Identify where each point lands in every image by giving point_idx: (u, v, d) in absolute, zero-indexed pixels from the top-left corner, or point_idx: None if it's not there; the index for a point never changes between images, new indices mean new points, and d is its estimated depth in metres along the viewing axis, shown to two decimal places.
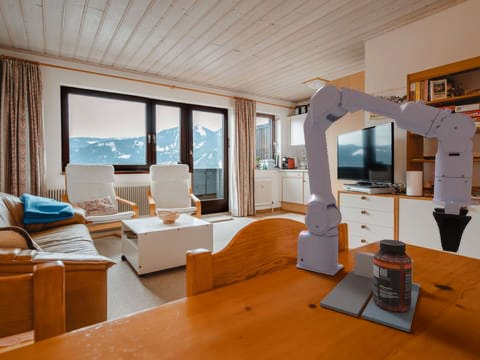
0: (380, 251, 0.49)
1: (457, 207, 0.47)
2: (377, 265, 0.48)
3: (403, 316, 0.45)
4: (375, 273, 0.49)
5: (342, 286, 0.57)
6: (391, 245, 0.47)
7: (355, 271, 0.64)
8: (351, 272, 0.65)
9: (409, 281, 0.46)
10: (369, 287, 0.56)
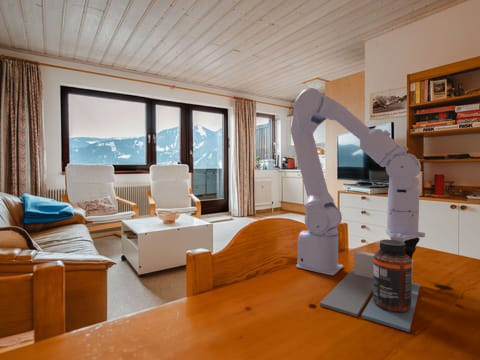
0: (380, 251, 0.49)
1: (401, 241, 0.53)
2: (377, 265, 0.48)
3: (403, 316, 0.45)
4: (375, 273, 0.49)
5: (342, 286, 0.57)
6: (391, 245, 0.47)
7: (355, 271, 0.64)
8: (351, 272, 0.65)
9: (409, 281, 0.46)
10: (369, 287, 0.56)
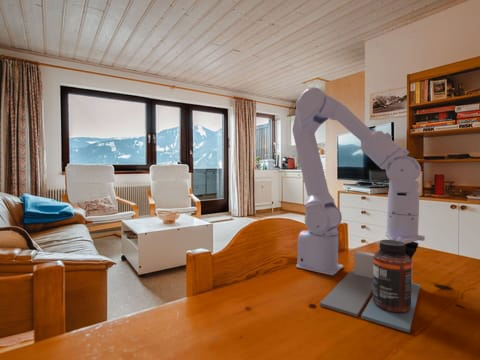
0: (380, 251, 0.49)
1: None
2: (376, 265, 0.48)
3: (403, 317, 0.45)
4: (375, 273, 0.49)
5: (342, 286, 0.57)
6: (391, 245, 0.47)
7: (355, 271, 0.64)
8: (351, 272, 0.65)
9: (409, 281, 0.46)
10: (369, 287, 0.56)
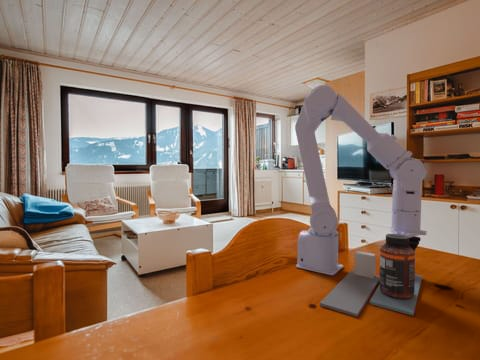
0: (386, 244, 0.54)
1: None
2: (383, 256, 0.53)
3: (407, 303, 0.50)
4: (381, 264, 0.54)
5: (342, 286, 0.57)
6: (396, 238, 0.52)
7: (355, 271, 0.64)
8: (351, 272, 0.65)
9: (412, 271, 0.51)
10: (369, 287, 0.56)
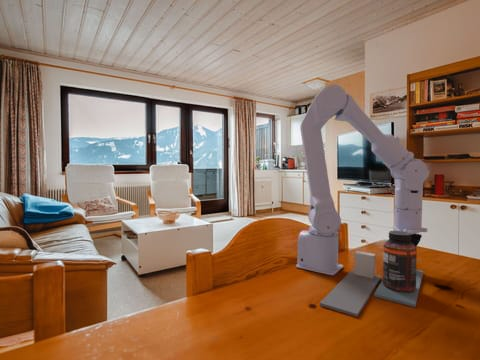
0: (389, 240, 0.57)
1: None
2: (386, 252, 0.56)
3: (409, 295, 0.53)
4: (385, 259, 0.57)
5: (342, 286, 0.57)
6: (399, 235, 0.55)
7: (355, 271, 0.64)
8: (351, 272, 0.65)
9: (414, 265, 0.54)
10: (369, 287, 0.56)
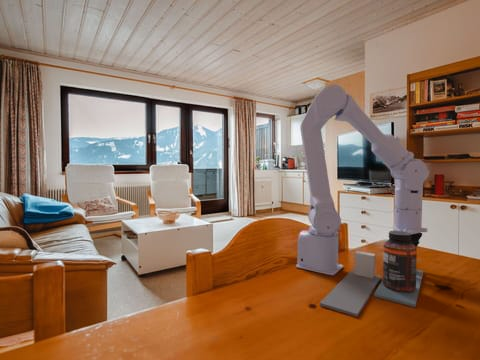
0: (389, 240, 0.57)
1: None
2: (386, 252, 0.56)
3: (409, 295, 0.53)
4: (385, 259, 0.57)
5: (342, 286, 0.57)
6: (399, 235, 0.55)
7: (355, 271, 0.64)
8: (351, 272, 0.65)
9: (414, 265, 0.54)
10: (369, 287, 0.56)
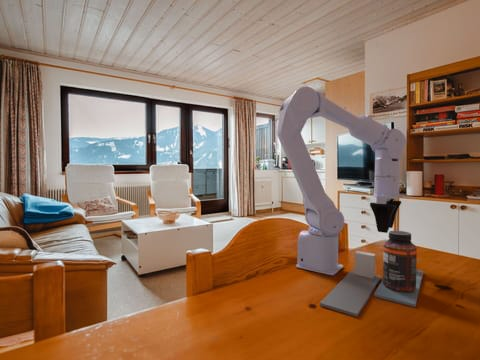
0: (389, 240, 0.57)
1: (384, 198, 0.65)
2: (386, 252, 0.56)
3: (409, 295, 0.53)
4: (385, 259, 0.57)
5: (342, 286, 0.57)
6: (399, 235, 0.55)
7: (355, 271, 0.64)
8: (351, 272, 0.65)
9: (414, 265, 0.54)
10: (369, 287, 0.56)
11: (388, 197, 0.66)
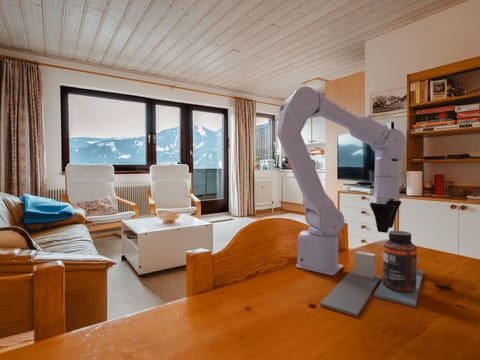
0: (389, 240, 0.57)
1: (384, 198, 0.65)
2: (386, 252, 0.56)
3: (409, 295, 0.53)
4: (385, 259, 0.57)
5: (342, 286, 0.57)
6: (399, 235, 0.55)
7: (355, 271, 0.64)
8: (351, 272, 0.65)
9: (414, 265, 0.54)
10: (369, 287, 0.56)
11: (388, 197, 0.66)
